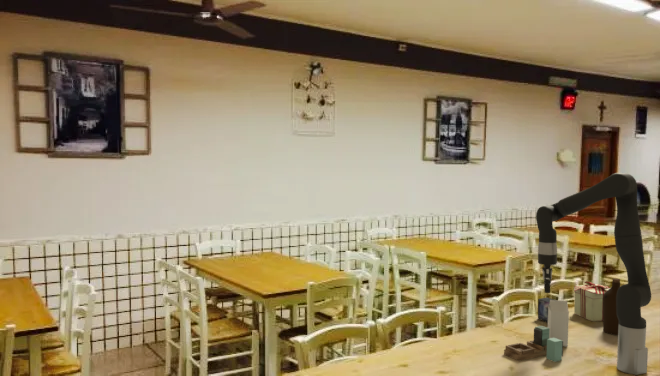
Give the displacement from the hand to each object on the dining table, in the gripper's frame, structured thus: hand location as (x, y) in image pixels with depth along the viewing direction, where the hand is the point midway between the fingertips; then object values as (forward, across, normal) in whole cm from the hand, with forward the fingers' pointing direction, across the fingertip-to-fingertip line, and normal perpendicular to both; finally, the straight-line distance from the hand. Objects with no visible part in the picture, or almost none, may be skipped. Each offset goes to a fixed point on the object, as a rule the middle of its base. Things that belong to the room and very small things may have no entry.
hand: (547, 290), depth 237 cm
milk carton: (+24, +7, -4) cm, 26 cm away
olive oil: (+24, +35, -30) cm, 52 cm away
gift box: (+24, +58, -24) cm, 67 cm away
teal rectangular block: (+24, -15, -2) cm, 29 cm away
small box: (+24, +43, -2) cm, 49 cm away
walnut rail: (+24, -11, +6) cm, 27 cm away
